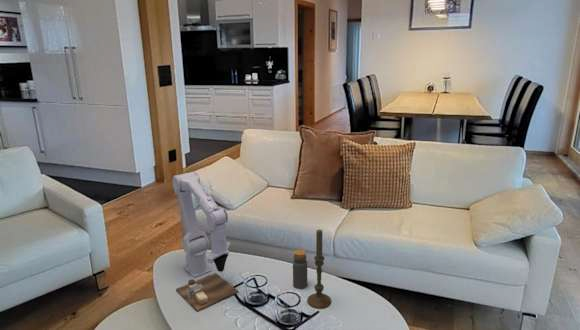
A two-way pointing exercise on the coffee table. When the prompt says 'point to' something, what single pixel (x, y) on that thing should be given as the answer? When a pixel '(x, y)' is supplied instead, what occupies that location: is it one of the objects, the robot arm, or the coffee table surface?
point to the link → (198, 293)
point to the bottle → (300, 269)
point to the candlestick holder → (319, 278)
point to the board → (210, 291)
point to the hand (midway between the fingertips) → (220, 270)
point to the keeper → (193, 289)
